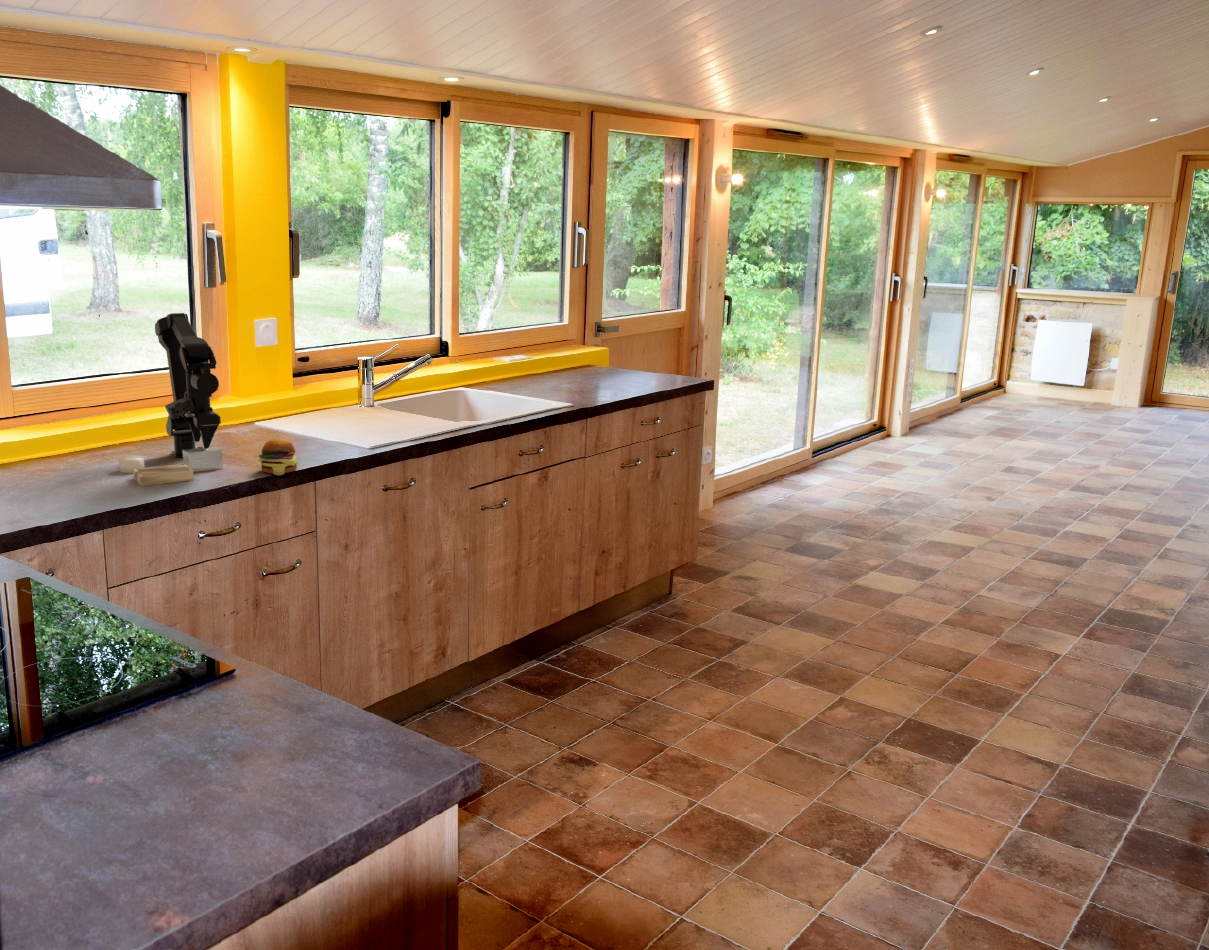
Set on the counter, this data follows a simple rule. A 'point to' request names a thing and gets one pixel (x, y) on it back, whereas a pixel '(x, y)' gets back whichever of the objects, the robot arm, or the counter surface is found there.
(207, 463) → the block
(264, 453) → the cheeseburger
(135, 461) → the cream rounded block
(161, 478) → the stand
